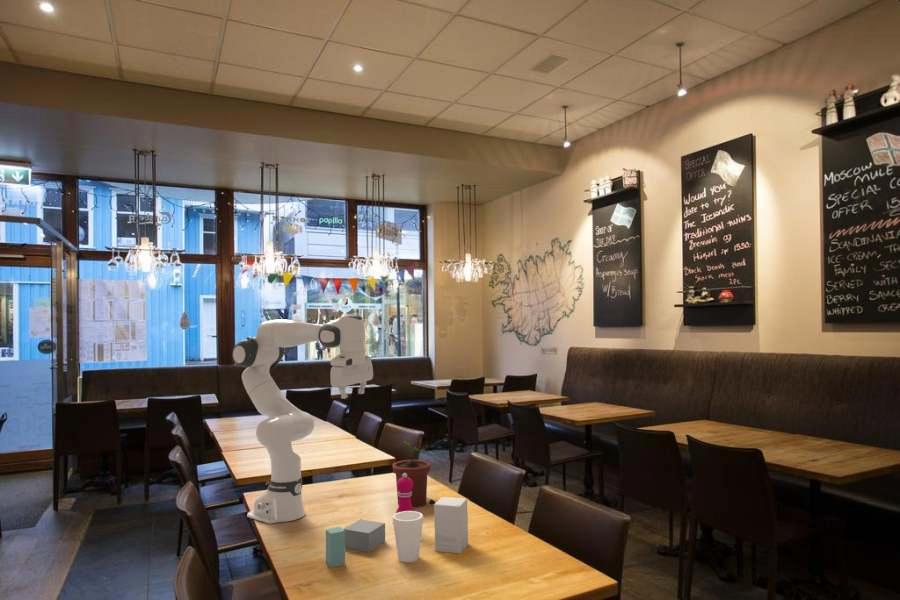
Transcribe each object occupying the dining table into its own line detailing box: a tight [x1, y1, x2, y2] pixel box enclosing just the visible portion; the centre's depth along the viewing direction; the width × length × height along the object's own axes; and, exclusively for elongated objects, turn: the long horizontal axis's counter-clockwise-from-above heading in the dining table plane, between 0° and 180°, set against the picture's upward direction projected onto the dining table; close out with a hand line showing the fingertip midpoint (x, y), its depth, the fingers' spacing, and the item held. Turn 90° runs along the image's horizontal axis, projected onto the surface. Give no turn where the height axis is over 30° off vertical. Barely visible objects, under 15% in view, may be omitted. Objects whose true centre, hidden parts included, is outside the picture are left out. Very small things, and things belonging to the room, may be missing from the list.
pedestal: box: [342, 519, 386, 553], centre depth 187 cm, size 10×10×6 cm
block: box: [325, 526, 346, 568], centre depth 173 cm, size 4×4×10 cm
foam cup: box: [392, 510, 424, 563], centre depth 175 cm, size 10×9×13 cm
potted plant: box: [392, 440, 436, 508], centre depth 233 cm, size 18×22×25 cm
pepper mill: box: [395, 473, 415, 514], centre depth 200 cm, size 7×7×20 cm
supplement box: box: [433, 496, 469, 554], centre depth 183 cm, size 9×9×15 cm
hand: (352, 395), depth 205 cm, fingers open, 8 cm apart
